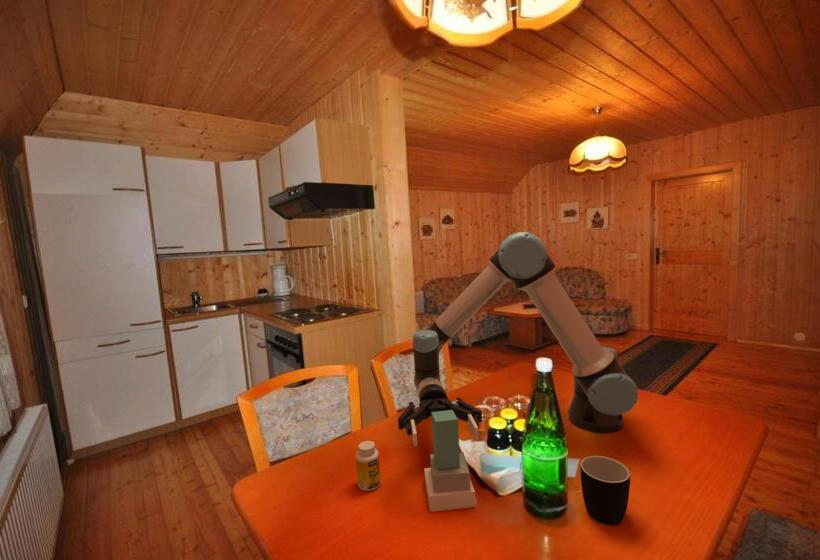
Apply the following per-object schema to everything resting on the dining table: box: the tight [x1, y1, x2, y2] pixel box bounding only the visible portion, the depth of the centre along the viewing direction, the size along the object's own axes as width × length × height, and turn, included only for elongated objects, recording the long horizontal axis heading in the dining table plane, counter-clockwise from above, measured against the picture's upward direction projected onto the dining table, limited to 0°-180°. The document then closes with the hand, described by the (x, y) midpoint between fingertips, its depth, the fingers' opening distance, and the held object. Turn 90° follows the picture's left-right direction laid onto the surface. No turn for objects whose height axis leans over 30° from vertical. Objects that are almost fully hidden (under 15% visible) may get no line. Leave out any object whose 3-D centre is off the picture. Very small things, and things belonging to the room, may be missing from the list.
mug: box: [579, 455, 631, 526], centre depth 77 cm, size 12×9×10 cm
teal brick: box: [431, 410, 460, 470], centre depth 84 cm, size 5×5×11 cm
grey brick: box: [429, 451, 471, 493], centre depth 85 cm, size 8×8×4 cm
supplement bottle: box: [355, 440, 381, 492], centre depth 89 cm, size 6×6×10 cm
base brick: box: [423, 467, 477, 512], centre depth 85 cm, size 10×10×4 cm
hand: (446, 436), depth 81 cm, fingers open, 13 cm apart
